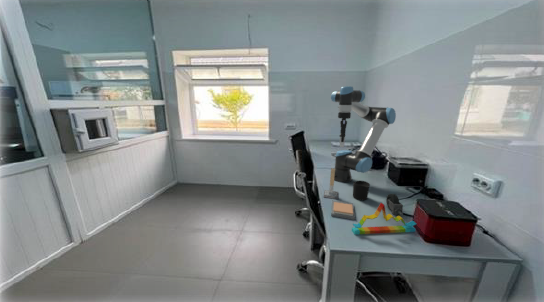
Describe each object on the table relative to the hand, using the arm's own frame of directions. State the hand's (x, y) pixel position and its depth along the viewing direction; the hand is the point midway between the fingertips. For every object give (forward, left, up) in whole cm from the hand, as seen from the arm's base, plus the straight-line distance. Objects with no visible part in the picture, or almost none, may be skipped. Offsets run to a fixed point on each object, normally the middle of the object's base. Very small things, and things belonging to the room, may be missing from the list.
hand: (341, 144), depth 137 cm
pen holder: (+6, +14, -33) cm, 36 cm away
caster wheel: (+19, +31, -33) cm, 49 cm away
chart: (+41, +21, -33) cm, 57 cm away
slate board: (+27, +3, -33) cm, 43 cm away
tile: (+24, +3, -30) cm, 39 cm away
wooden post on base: (+8, -4, -32) cm, 33 cm away
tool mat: (+8, -4, -33) cm, 34 cm away
